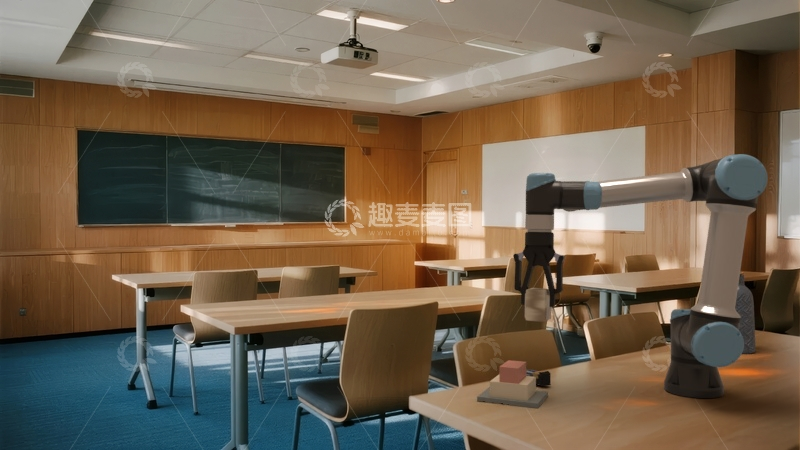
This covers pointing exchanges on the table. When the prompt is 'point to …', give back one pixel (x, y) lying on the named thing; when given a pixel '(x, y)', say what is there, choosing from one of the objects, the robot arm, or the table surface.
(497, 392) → the tiered block stack
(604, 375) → the table surface
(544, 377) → the brush
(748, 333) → the vase
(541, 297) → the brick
